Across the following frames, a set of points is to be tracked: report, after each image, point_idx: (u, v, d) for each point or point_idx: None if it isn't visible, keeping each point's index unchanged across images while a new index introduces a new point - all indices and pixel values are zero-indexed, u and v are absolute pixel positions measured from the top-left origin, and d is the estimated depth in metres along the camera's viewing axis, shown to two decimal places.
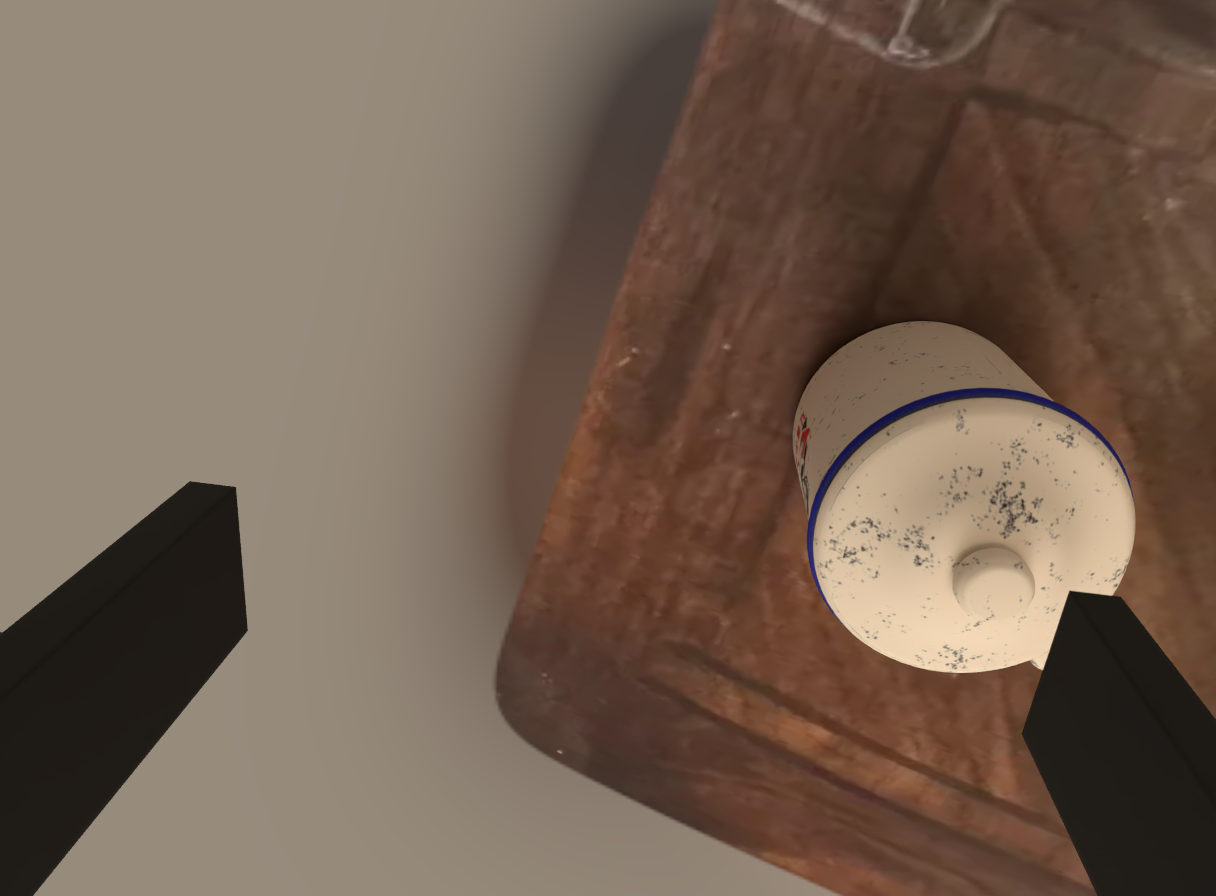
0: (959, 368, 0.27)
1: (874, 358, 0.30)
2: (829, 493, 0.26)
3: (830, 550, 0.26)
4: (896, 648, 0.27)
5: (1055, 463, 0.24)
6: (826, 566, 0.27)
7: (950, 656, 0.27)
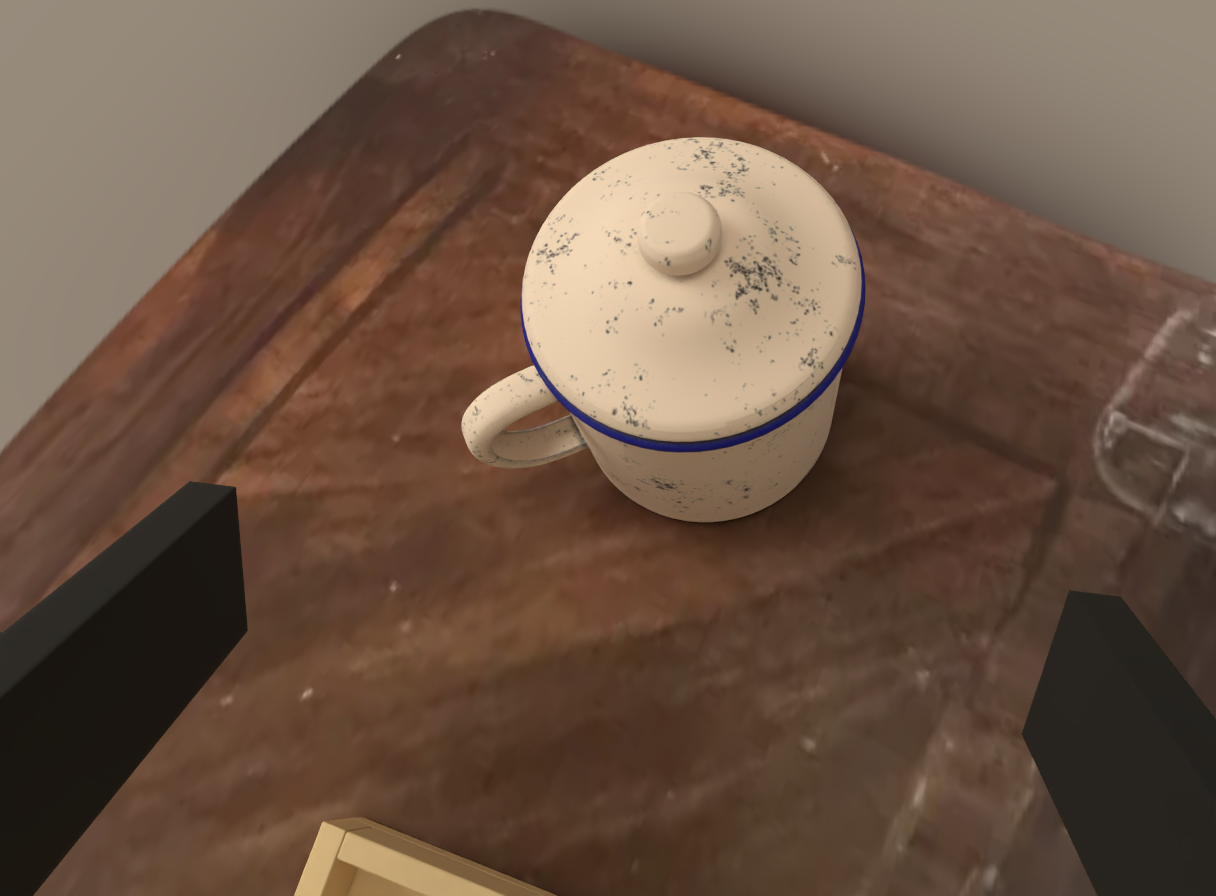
0: None
1: None
2: None
3: (709, 143, 0.25)
4: (577, 197, 0.25)
5: (786, 341, 0.22)
6: (689, 140, 0.25)
7: (558, 244, 0.24)
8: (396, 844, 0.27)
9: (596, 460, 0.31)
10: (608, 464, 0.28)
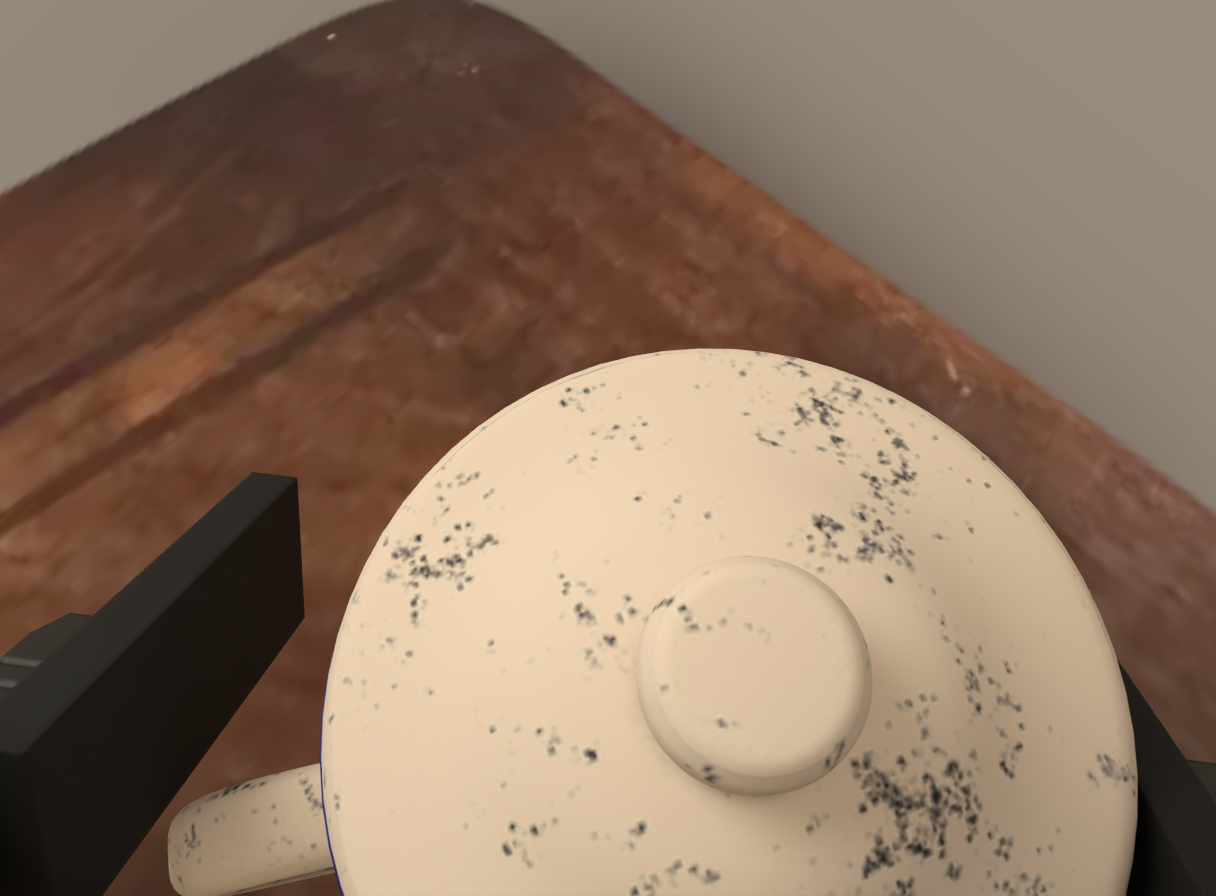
0: None
1: None
2: None
3: (830, 383, 0.11)
4: (516, 438, 0.11)
5: None
6: (787, 365, 0.11)
7: (446, 548, 0.10)
8: None
9: None
10: None
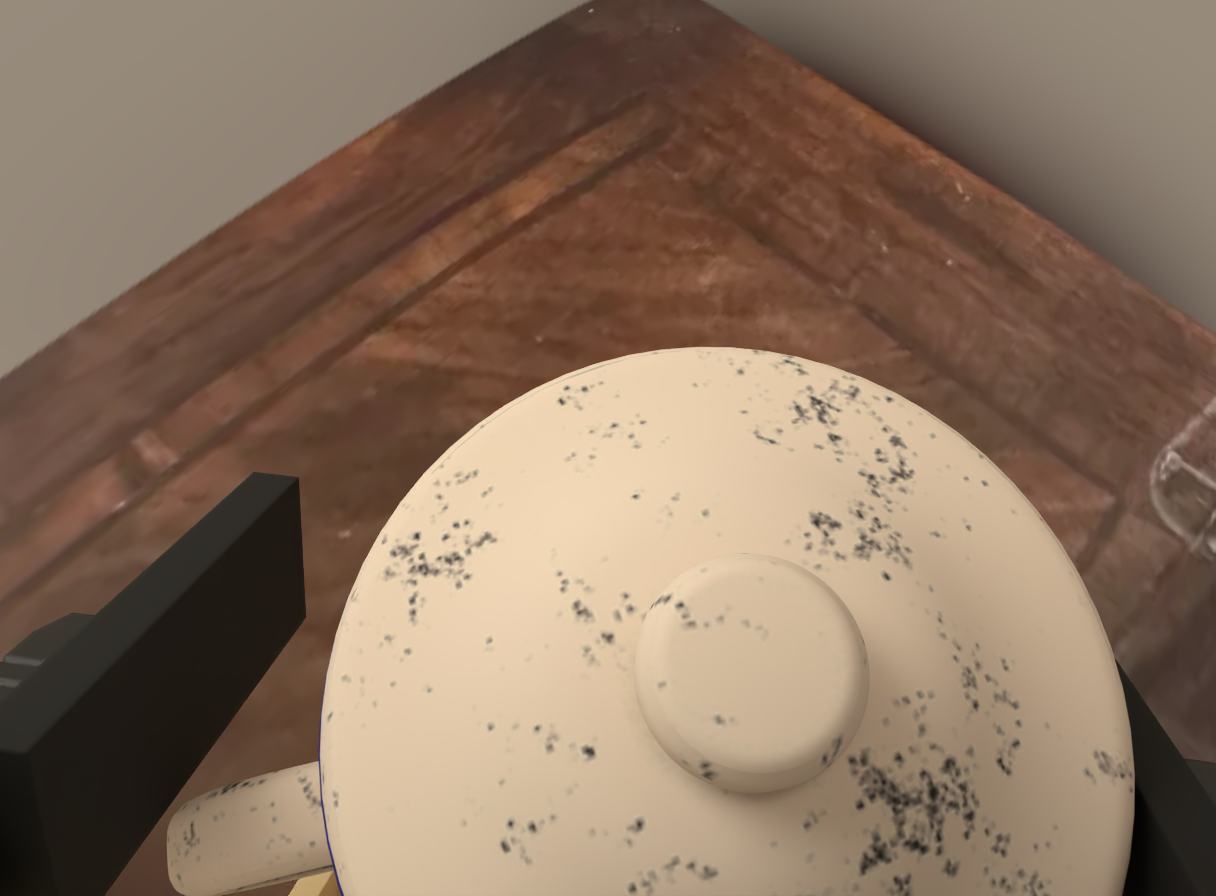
0: None
1: None
2: None
3: (828, 381, 0.11)
4: (515, 436, 0.11)
5: None
6: (785, 363, 0.11)
7: (444, 546, 0.10)
8: None
9: None
10: None
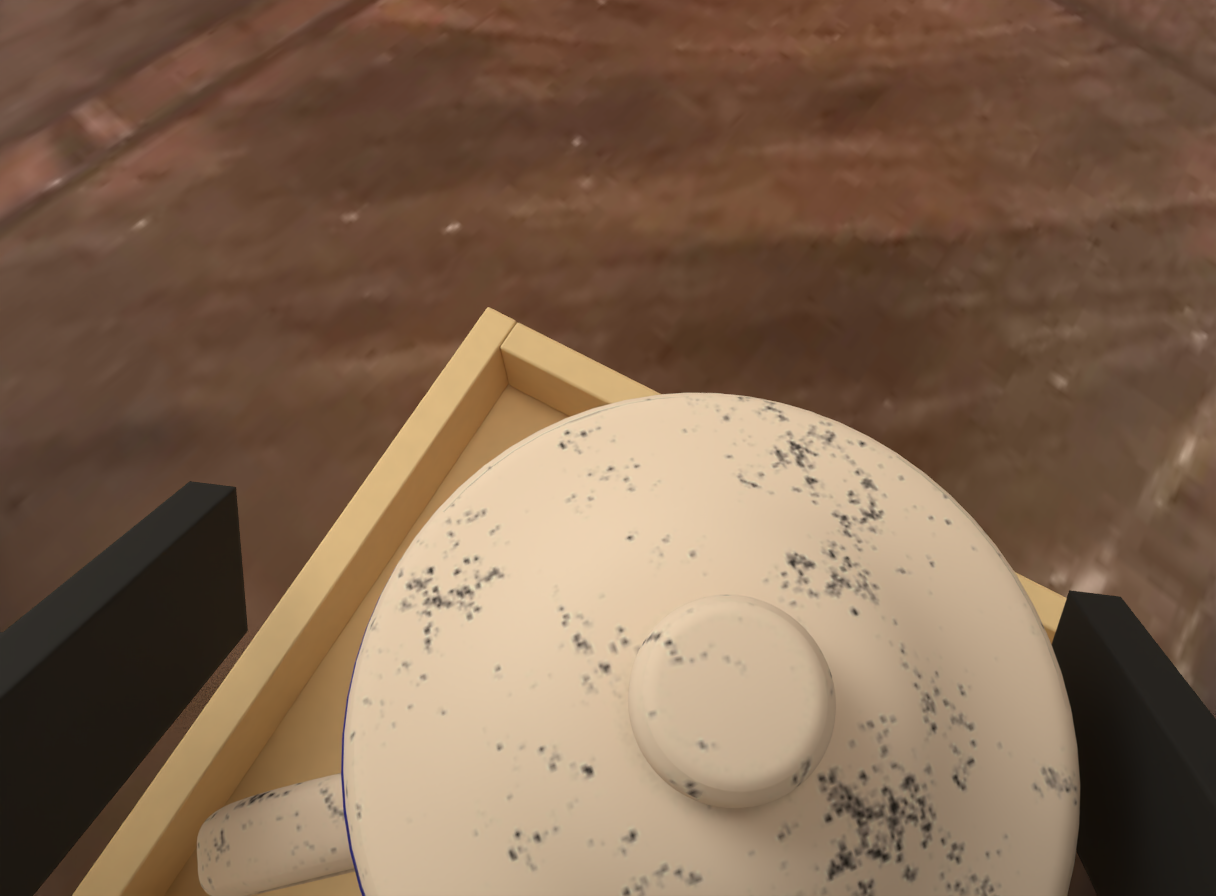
0: None
1: None
2: None
3: (807, 426, 0.12)
4: (520, 478, 0.12)
5: None
6: (767, 409, 0.12)
7: (456, 580, 0.11)
8: None
9: None
10: None
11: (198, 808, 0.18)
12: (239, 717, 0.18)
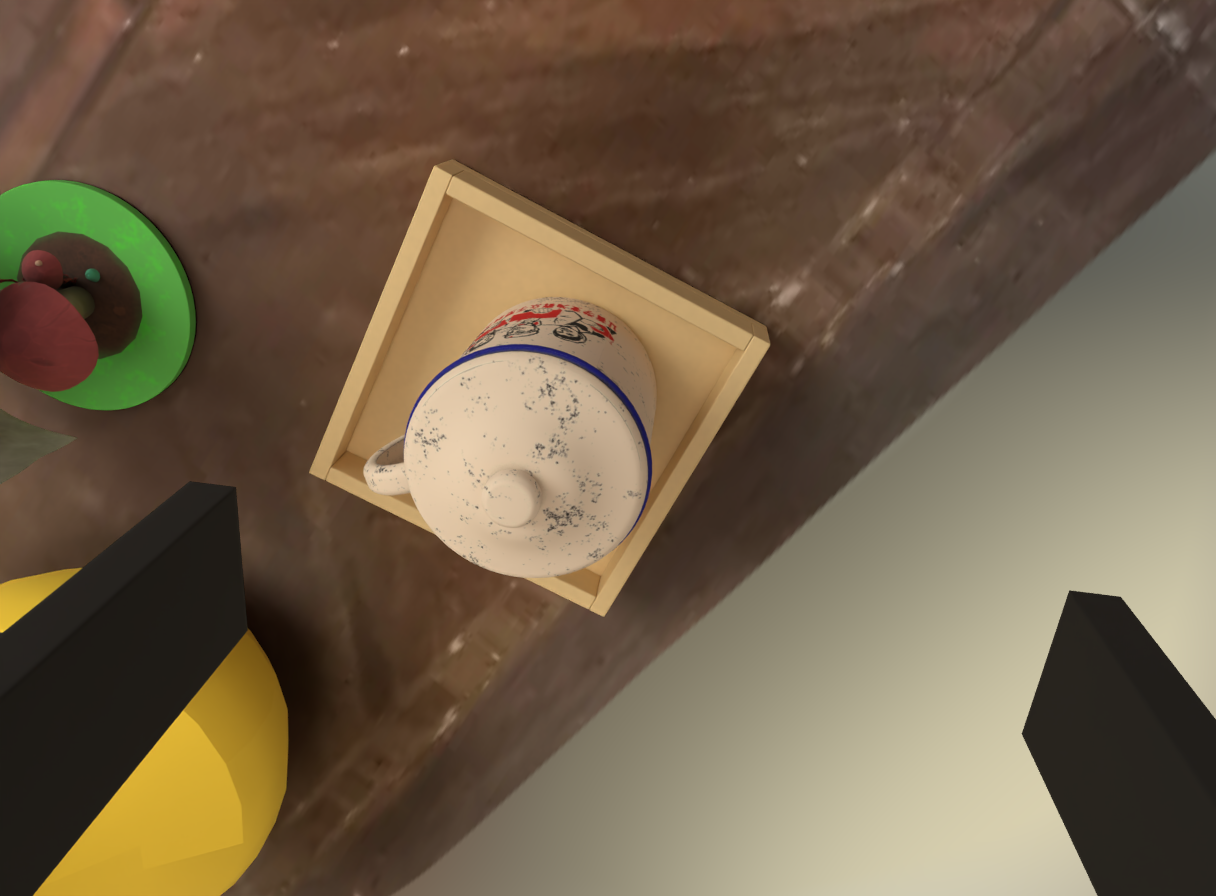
0: None
1: (652, 403, 0.37)
2: (602, 386, 0.31)
3: (554, 374, 0.31)
4: (447, 397, 0.31)
5: (580, 545, 0.33)
6: (540, 366, 0.31)
7: (431, 436, 0.32)
8: (487, 188, 0.37)
9: None
10: None
11: (353, 419, 0.41)
12: (360, 390, 0.40)
